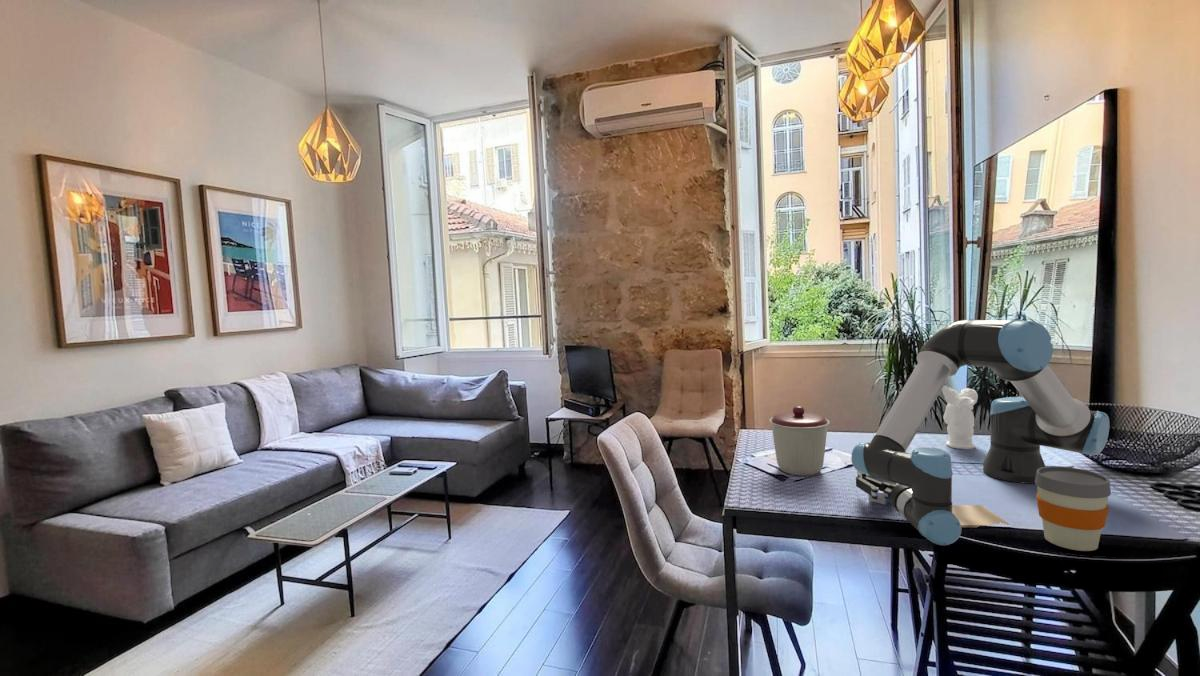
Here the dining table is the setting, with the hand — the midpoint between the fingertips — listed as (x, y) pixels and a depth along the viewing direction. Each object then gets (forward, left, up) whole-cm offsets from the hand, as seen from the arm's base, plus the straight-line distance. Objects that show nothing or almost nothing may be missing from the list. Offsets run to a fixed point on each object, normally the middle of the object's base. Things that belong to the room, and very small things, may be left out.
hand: (875, 471), depth 152 cm
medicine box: (0, +5, -6) cm, 8 cm away
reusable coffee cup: (-30, +30, -6) cm, 43 cm away
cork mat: (-14, +17, -6) cm, 23 cm away
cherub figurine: (-44, -41, -6) cm, 61 cm away
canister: (+16, -19, -6) cm, 26 cm away
